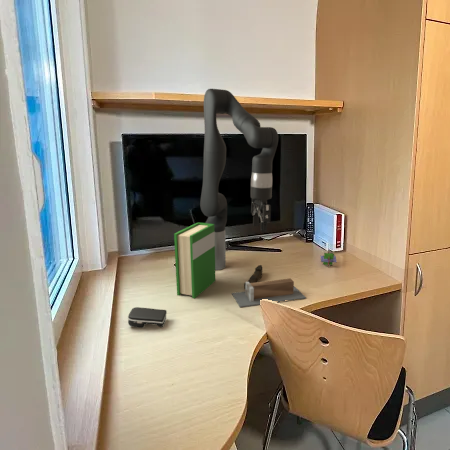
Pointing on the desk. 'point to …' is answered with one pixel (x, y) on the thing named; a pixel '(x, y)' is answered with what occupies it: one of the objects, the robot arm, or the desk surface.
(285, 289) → the stick
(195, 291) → the hardback book
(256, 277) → the dark brown bar
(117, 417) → the desk surface
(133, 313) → the battery charger
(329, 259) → the geometric puzzle
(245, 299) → the mat
